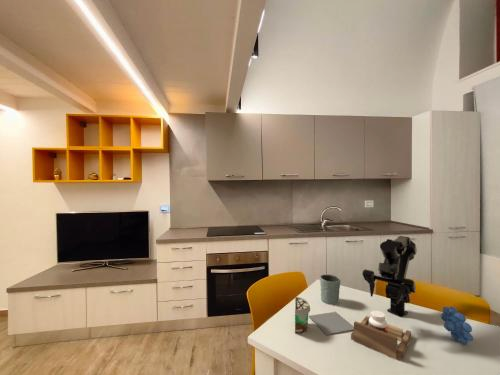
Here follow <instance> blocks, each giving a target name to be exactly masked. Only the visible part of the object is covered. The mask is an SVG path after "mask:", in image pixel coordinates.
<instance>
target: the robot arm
mask: <svg viewBox="0 0 500 375" xmlns="http://www.w3.org/2000/svg"><path fill="white" fill-rule="evenodd" d="M416 245H417V244H416V243H414V242H413V241H412V240H411V237H409V236H403V235H400V236H397V238H396V239H394V240H393V239H389V238H387V239H386V240H385V241H383V242H381V243H380V245H379V248H380V251H381V254H382V257H383V258H384V259H383V262H379V263H378V269H377V270H378V271H379V274H375V271H374V270H369V269H364V270H362V276H363V280H364V281H366V282H367V283H368V284H369V285H368V286H369V292H370V297H373V295H374V291H375V287H376V286H375V285H376V283H375V282H376V281H380V282H384V283H387V284H386V285H385V289H384V290H385V298H386V299H390V300H389V301H390V303H389V305H390V306H389V308H388V309H386V311H387V312H389V313H391V314H393V315H396V316H398V317H401V318H402V317H404V316H406V315H407V314H409V311H406V306H405V305H406V304H409V303H410V302H411V297H410V295H411V294H412V293H413V294H415V293H416V289H417V288H416V283H415V281H414V279H410V278H406V277H407V272H408V269H409V264H410V262H411V261H413V260H414V259H415V256H416V255H417V246H416Z"/></svg>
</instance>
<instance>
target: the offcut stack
mask: <svg viewBox="0 0 500 375" xmlns="http://www.w3.org/2000/svg"><path fill="white" fill-rule="evenodd" d="M367 326H369V324H368V325H367ZM387 333H388V334H391V335H394V336H396V337H397V342H398V341H399V342H401V341H402V339H403V336H404V334H405V332H404V330H403V328H401V327H398V326H394V325H391V324H388V323H387Z"/></svg>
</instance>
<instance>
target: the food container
mask: <svg viewBox="0 0 500 375" xmlns="http://www.w3.org/2000/svg"><path fill="white" fill-rule="evenodd" d="M294 300H295V303H294V304H295V306H294V307H295V308H294V333H295V334H299V335H301V334H304V333H306V332H307V331H308V327H309V326H308V325H309V313H310V312H311V306H310V303H309V301H308V300H306V299H304V298H302V297H299V296H295V298H294Z"/></svg>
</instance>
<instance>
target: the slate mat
mask: <svg viewBox="0 0 500 375" xmlns="http://www.w3.org/2000/svg"><path fill="white" fill-rule="evenodd" d="M308 319H310V320H311V321H312V322H313V323H314V324H315V325H316V326H317V328H319V329H320V330H321V331H322V332H323V333H324V334H325V336H332V335H337V334H342V333H349V332H353V331H354V324H352V323H350V322H349V321H348V320H347V319H346V318H344V317H342V316H341V314H339V313H338V312H336V311H332V312H325V313H318V314H312V315H308Z"/></svg>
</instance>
